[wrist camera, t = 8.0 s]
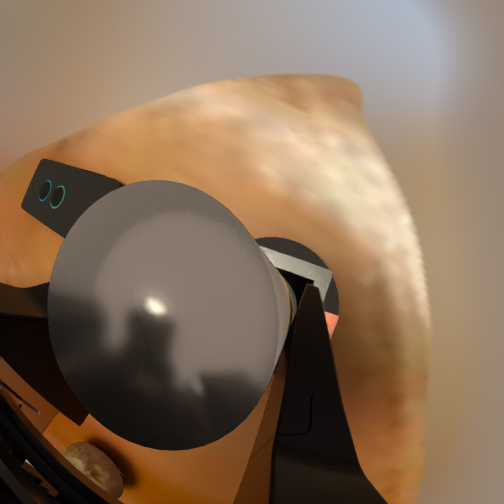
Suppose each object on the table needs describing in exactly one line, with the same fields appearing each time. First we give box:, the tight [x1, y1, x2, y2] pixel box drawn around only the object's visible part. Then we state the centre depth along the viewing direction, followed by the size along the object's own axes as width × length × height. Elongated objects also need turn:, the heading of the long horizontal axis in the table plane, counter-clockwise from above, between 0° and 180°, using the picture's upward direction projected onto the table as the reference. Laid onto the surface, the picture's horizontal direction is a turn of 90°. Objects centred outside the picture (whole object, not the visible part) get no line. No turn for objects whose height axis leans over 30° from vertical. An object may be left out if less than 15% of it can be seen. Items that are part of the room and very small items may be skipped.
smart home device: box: [21, 159, 124, 239], centre depth 27 cm, size 8×2×20 cm
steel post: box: [47, 180, 297, 451], centre depth 9 cm, size 4×4×12 cm
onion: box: [64, 442, 125, 499], centre depth 17 cm, size 8×8×8 cm
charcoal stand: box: [254, 237, 339, 374], centre depth 17 cm, size 10×10×7 cm
